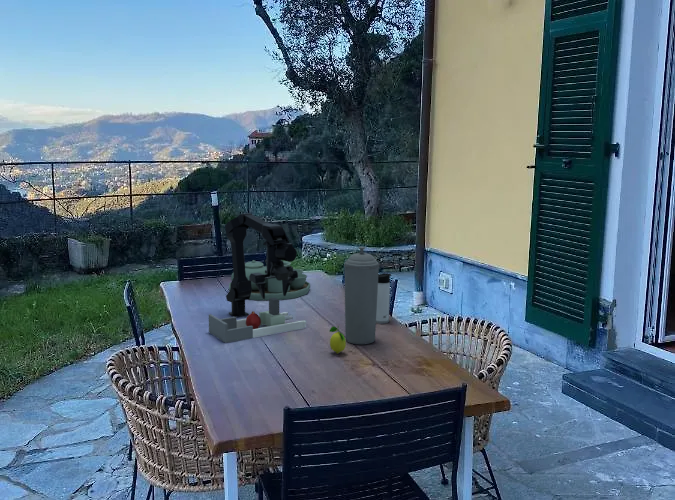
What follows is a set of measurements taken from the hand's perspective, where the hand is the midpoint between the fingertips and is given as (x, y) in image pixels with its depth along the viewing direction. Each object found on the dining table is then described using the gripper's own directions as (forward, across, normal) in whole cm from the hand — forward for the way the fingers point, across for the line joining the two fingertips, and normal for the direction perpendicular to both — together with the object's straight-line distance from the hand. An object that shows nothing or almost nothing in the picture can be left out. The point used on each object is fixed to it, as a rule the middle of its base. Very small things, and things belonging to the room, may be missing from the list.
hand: (274, 297), depth 234 cm
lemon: (+12, +4, -38) cm, 40 cm away
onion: (+12, -9, 0) cm, 15 cm away
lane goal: (+12, -7, 0) cm, 14 cm away
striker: (+12, +2, 0) cm, 12 cm away
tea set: (+13, +27, +55) cm, 62 cm away
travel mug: (+12, +41, -16) cm, 46 cm away
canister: (+12, +19, -31) cm, 38 cm away
